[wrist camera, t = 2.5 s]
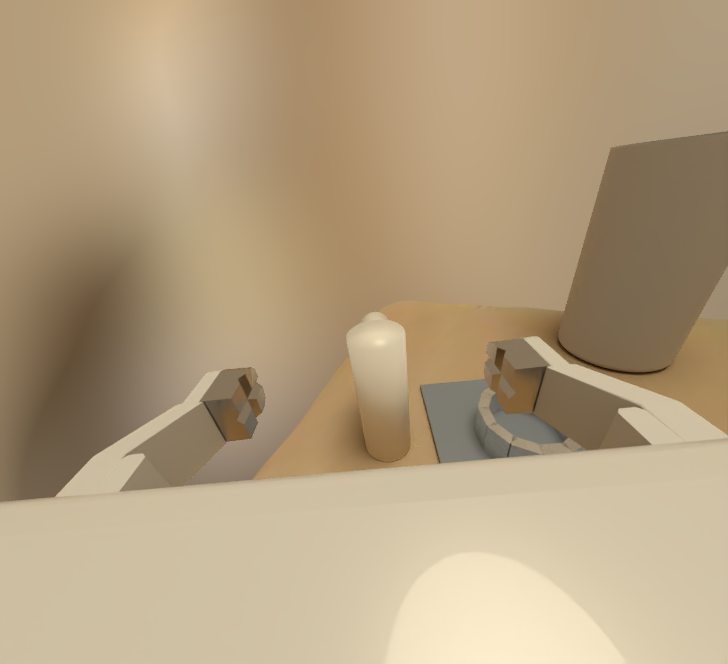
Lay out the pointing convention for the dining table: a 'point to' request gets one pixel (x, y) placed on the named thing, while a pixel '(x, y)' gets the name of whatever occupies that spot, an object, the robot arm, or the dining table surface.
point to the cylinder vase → (650, 253)
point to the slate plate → (473, 421)
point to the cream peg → (381, 385)
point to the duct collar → (504, 442)
